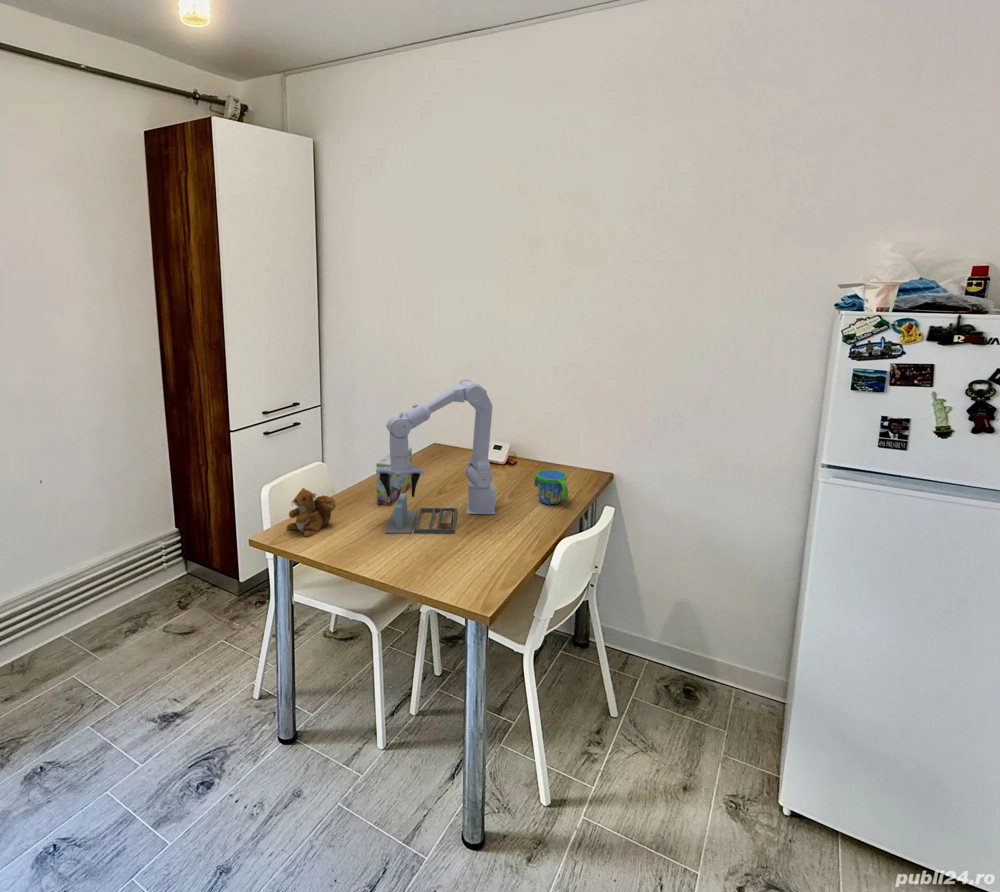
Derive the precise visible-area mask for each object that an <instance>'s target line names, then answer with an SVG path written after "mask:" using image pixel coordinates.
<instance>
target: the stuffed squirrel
mask: <svg viewBox="0 0 1000 892" xmlns="http://www.w3.org/2000/svg"><path fill="white" fill-rule="evenodd" d="M335 503H337V500H335V499H333V497H330V496H329V495H319V496H317V493H315V492H314V493H313V492H312V491H310V490H309V489H305V487H303V488H301V490H299V492H298V494H297V495H296V496H295V497H294V499H292V500H291V506H294V505H295V506H296V508H294V509H291V510H290V511H289V512H288V517H289V518H290V519H294V518H295V522H290V523H289V524H287V525H286V528H287V530H288V531H291V530H293V531H295V530H299V531H300V532H303V535H304V537H305V538H308V536H309V537H311V535H312V536H313V534H314V535H316V534H318V533H319V532H320V530H321V528H322V527H324V526H326V525H327V524H328V523H329V522H330V520H331V516H332V511H334V510H336V505H337V504H335ZM317 532H318V533H317ZM315 533H316V534H315Z"/></svg>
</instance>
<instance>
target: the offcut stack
mask: <svg viewBox="0 0 1000 892" xmlns="http://www.w3.org/2000/svg"><path fill="white" fill-rule="evenodd" d="M453 517H454V512H453V511H443V513H442V519H441V524H440V529H452V525H453Z"/></svg>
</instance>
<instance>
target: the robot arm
mask: <svg viewBox="0 0 1000 892" xmlns="http://www.w3.org/2000/svg"><path fill="white" fill-rule="evenodd" d="M491 401H492V400H491V399H490V398H489V396H488V391H487V390H486V389H485V388H484V387H483V386H482V385H480V384H478V383H475V382H474V381H471V380H470V379H462V380H459V382H456V383H454V384H453V385H451V386H450V387H449V388H448V389H446V390H444V391H443V392H441V393H440V394H439V395H437V396H435V397H434V398H433V399H431V400H430V401H428V402H426V403H421V402H418V404H417V403H413V404H412V405H411V408H408V409H407V410H405V411H403V412H399V413H398V415H393V416H391V417H390V418H389V419H388V421H387V424H386V426H385V427H386V429H387V430H388V431H389V454H390V464H391V466H388V467H377V466H376V469H375V472H376V476H377V475H380V481H381V482H382V484H383V485H384V488H385V490H386V493H387V497H390V474H412V476H411V483H412V486H411V498H415V494H416V487H417V485H418V482H419V480H420V476H424V473H425V472H424V471H425V468H424V467H420V466H414V465H413V466H409V448H410V447H409V436H408V435H409V434H410V432H411V430H413V429H414V428H415V429H416V428H417V427H418V426H420V425H421V424H423V423H424V422H426V421H428V420H430V418H431V416H432V413H435V412H437V411H438V410H441V409H442V408H444V407H445V406H447V405H450V404H451V403H454V402H456V403H465V402H468V403H469V404H470V405H471V407H472V408H473V409H474V411H475V412H474V413H475V414H474V415H475V416H474V425H473V426H474V427H473V429H474V430H473V439H472V440H473V441H472V453H471V457H470V458H469V459H468V465H467V467H466V468H465V476H466V478H467V479H468V483H467V504H466V505H467V506H466V515H495V514H496V507H497V500H496V485H494V484H492V482H493V473H492V469H491V468H492V466H491V463H490V461H489V451H490V442H491V441H490V439H491V429H492V427H491V426H492V417H493V416H492V415H493V404H492V402H491Z"/></svg>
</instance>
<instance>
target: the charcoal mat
mask: <svg viewBox="0 0 1000 892" xmlns="http://www.w3.org/2000/svg"><path fill="white" fill-rule="evenodd" d="M418 512H419V509H407V516H406V519H405V522H404V525H403V528H396V519H395V509H393V510H392V513H391V515H390V518H389V520H388V523H387V525H386V528H385V531H384V534H386V535H388V534H389V535H391V534H392V535H397V534H398V535H404V534H405V535H408V534H410V535H411V534H412V531H413V529H414V526H415V522H416V521H415V520H416V519H417V518H416V516H417V515H418Z"/></svg>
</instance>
